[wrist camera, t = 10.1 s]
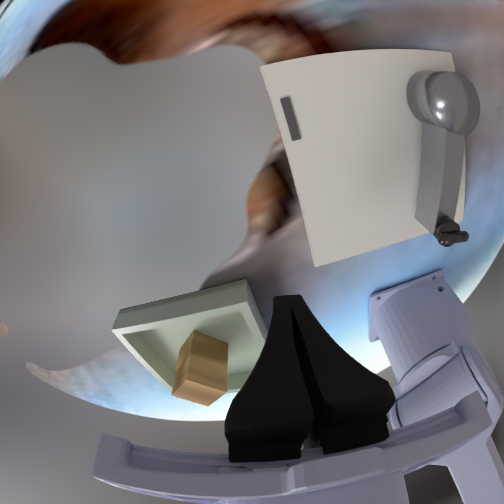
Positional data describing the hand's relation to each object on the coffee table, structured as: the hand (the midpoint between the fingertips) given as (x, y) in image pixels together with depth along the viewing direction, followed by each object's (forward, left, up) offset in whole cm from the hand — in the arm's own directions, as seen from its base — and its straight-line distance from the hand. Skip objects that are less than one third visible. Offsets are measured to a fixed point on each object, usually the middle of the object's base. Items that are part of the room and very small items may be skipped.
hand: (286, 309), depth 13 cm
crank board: (-11, -4, -9) cm, 15 cm away
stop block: (+11, +11, -8) cm, 17 cm away
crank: (-14, -4, -8) cm, 16 cm away
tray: (+10, +11, -9) cm, 18 cm away
